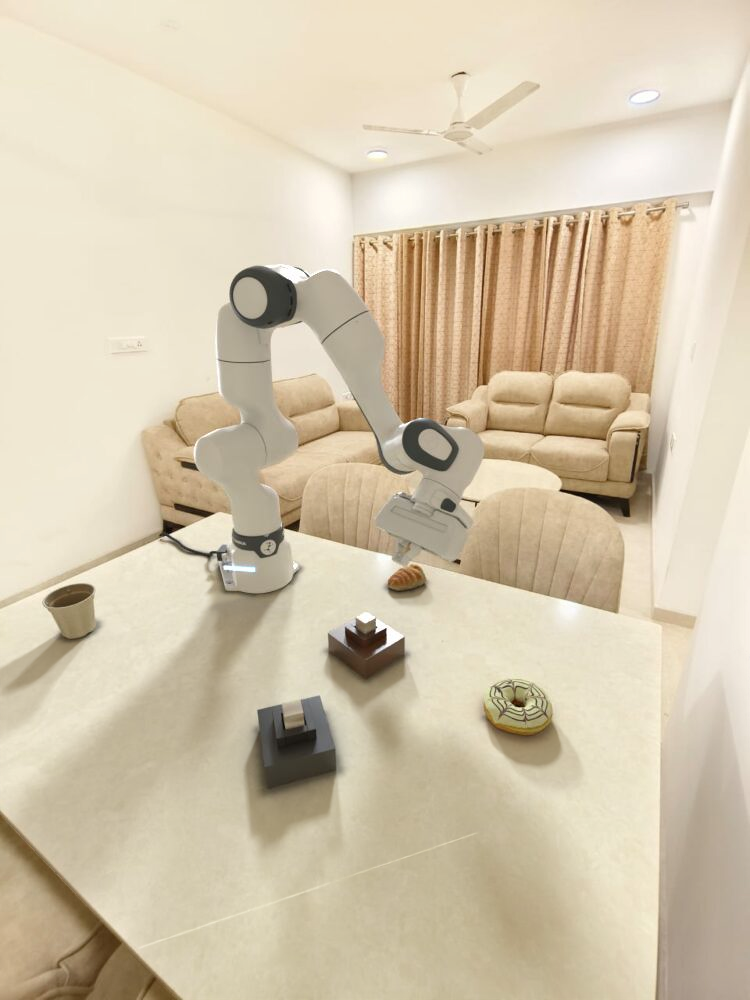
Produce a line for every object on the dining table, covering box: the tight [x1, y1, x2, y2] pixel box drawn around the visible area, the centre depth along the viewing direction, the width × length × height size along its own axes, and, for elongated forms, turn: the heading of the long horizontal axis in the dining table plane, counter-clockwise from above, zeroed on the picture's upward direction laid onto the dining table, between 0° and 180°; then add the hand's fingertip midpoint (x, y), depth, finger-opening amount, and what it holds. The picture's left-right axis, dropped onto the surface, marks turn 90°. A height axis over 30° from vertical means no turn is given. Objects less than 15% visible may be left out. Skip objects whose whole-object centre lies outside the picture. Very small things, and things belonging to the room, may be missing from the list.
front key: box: [281, 699, 305, 730], centre depth 74 cm, size 3×3×2 cm
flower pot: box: [42, 582, 97, 640], centre depth 103 cm, size 9×9×9 cm
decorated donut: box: [483, 677, 554, 736], centre depth 81 cm, size 10×11×4 cm
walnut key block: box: [327, 618, 406, 680], centre depth 96 cm, size 11×10×6 cm
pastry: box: [387, 563, 427, 592], centre depth 120 cm, size 9×7×4 cm
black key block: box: [256, 695, 337, 790], centre depth 75 cm, size 11×10×6 cm
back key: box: [354, 611, 377, 634], centre depth 95 cm, size 3×3×2 cm
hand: (398, 563), depth 96 cm, fingers closed
